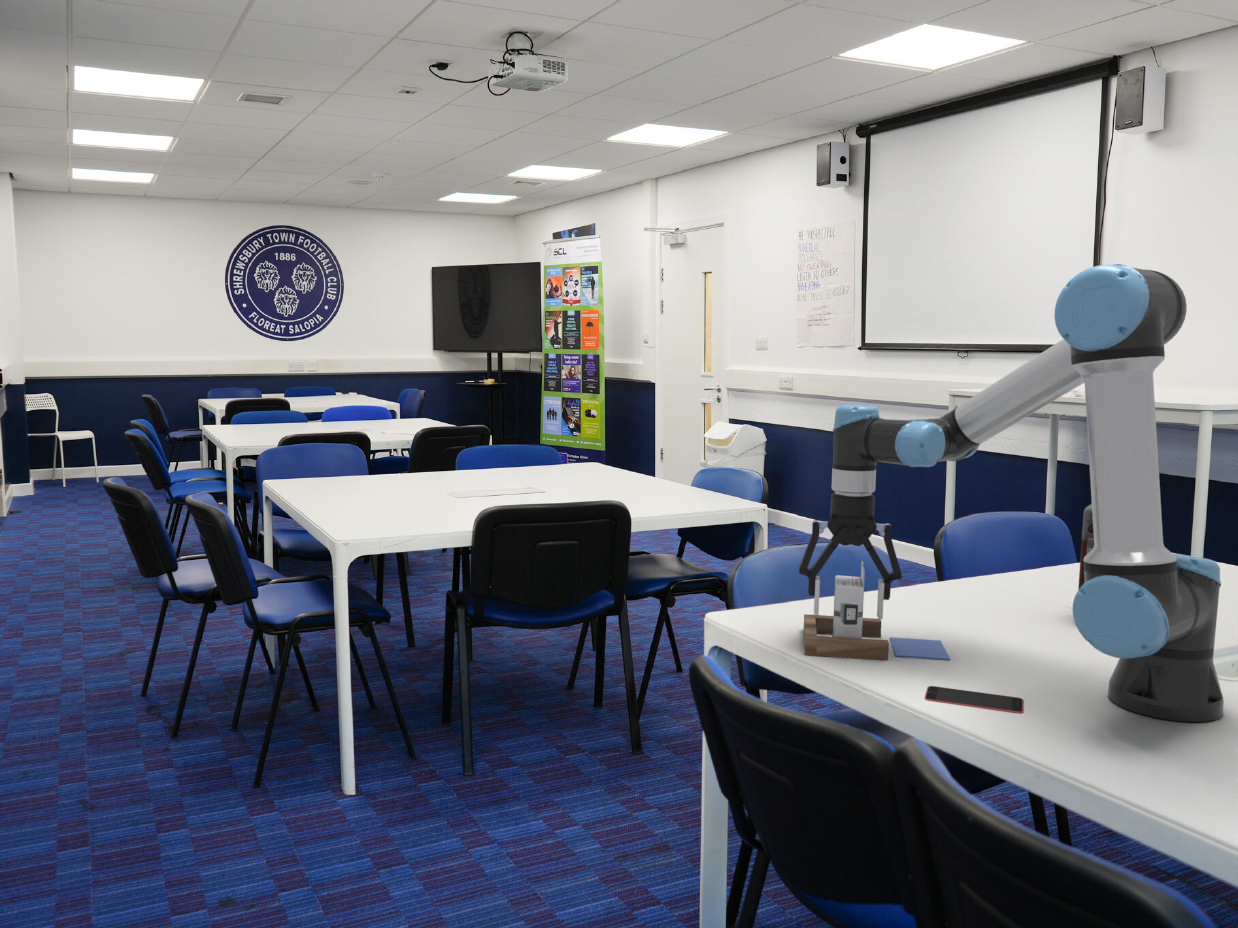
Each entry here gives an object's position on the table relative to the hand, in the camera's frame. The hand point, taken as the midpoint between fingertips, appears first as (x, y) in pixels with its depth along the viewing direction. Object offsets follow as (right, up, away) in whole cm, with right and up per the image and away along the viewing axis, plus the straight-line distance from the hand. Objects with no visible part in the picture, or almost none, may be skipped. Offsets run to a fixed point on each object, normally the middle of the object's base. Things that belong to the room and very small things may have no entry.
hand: (847, 615), depth 175 cm
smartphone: (+13, -9, -27) cm, 31 cm away
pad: (+12, -6, -2) cm, 14 cm away
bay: (-1, -5, +1) cm, 5 cm away
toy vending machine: (+54, -5, +17) cm, 57 cm away
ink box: (0, -6, +1) cm, 6 cm away
